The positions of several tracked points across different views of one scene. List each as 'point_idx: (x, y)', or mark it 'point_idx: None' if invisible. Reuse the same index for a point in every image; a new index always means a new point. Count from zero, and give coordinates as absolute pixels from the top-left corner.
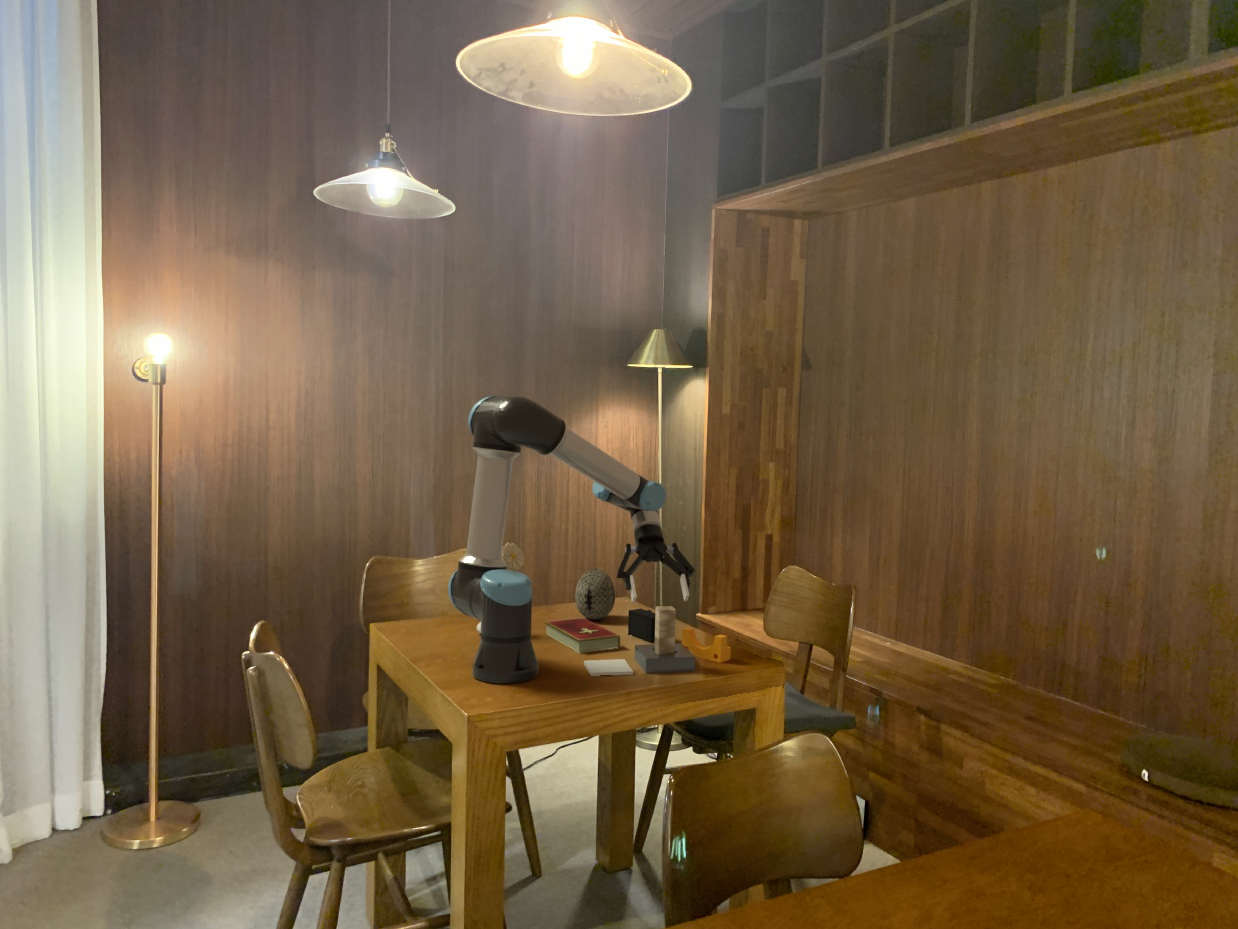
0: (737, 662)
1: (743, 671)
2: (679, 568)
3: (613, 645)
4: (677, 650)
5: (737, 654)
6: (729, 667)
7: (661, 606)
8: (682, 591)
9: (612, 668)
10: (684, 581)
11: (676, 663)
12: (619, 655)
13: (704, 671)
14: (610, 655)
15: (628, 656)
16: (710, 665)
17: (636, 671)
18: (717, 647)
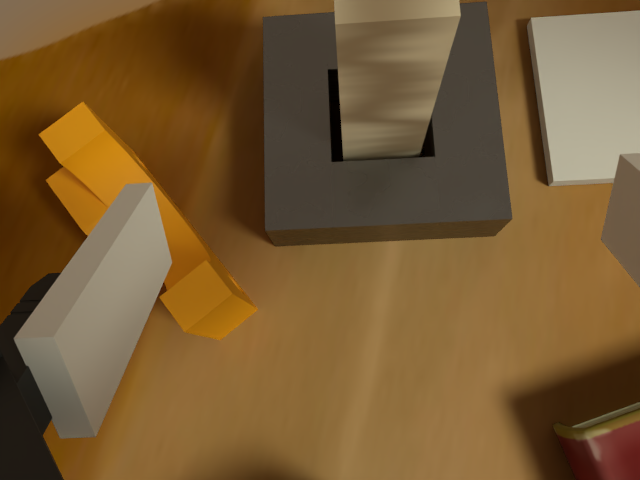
0: None
1: (87, 42)
2: (24, 418)
3: (593, 422)
4: (317, 111)
5: (13, 267)
6: (120, 92)
7: (414, 15)
8: (144, 309)
9: (616, 56)
10: (86, 264)
11: None
12: (562, 298)
13: (235, 50)
14: (607, 302)
15: (519, 278)
16: (186, 122)
17: (507, 66)
18: (117, 138)
